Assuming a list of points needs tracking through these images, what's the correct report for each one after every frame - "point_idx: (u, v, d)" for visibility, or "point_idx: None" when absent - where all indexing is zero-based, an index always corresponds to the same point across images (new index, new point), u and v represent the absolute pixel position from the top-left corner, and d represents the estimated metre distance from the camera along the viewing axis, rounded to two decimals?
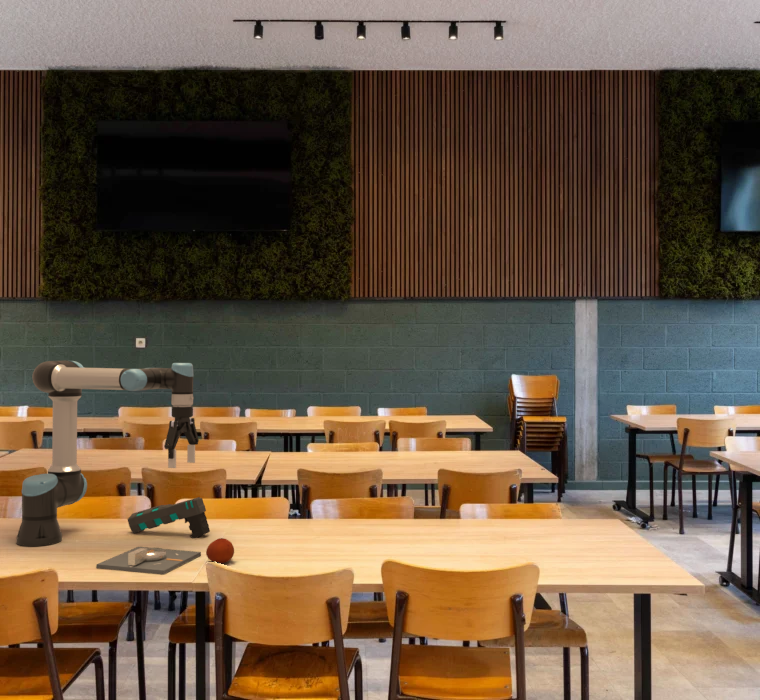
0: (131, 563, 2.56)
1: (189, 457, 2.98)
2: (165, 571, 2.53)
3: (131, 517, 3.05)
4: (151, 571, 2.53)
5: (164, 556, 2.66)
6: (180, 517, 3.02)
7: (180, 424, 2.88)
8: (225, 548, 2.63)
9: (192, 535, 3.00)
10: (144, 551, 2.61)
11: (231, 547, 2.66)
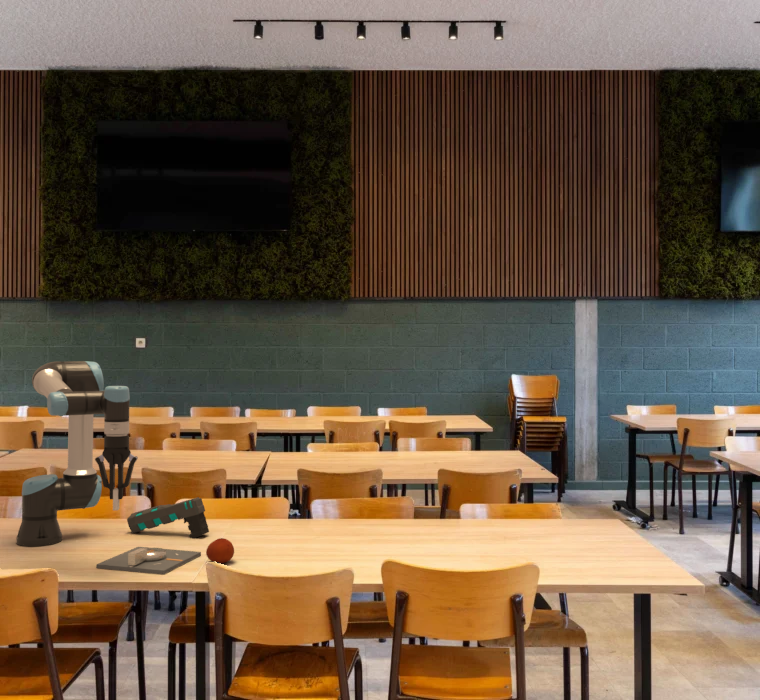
0: (131, 563, 2.56)
1: None
2: (165, 571, 2.53)
3: (130, 517, 3.05)
4: (151, 571, 2.53)
5: (164, 556, 2.66)
6: (179, 517, 3.02)
7: (105, 455, 2.56)
8: (225, 548, 2.63)
9: (191, 535, 3.00)
10: (144, 551, 2.61)
11: (231, 547, 2.66)
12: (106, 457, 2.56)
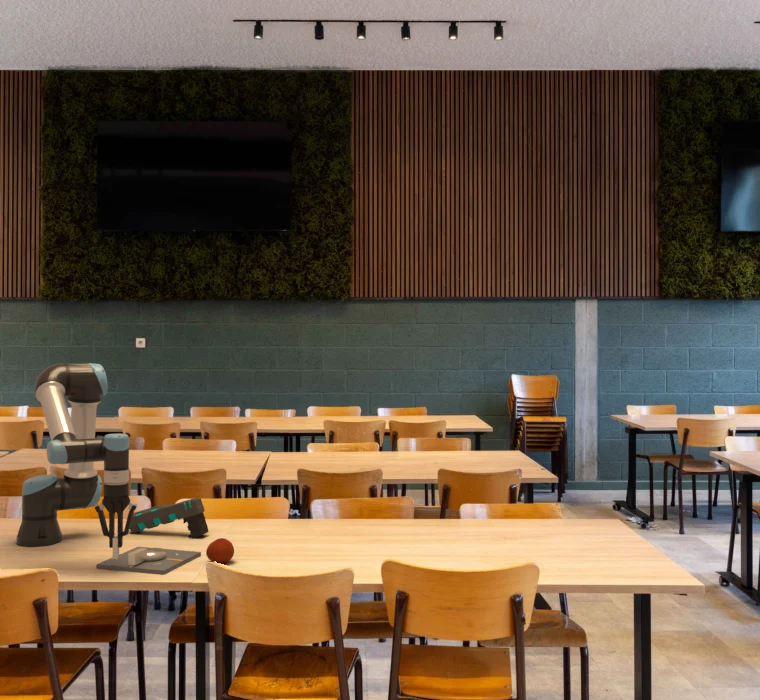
0: (131, 563, 2.56)
1: None
2: (165, 571, 2.53)
3: None
4: (151, 571, 2.53)
5: (164, 556, 2.66)
6: (179, 517, 3.01)
7: (105, 503, 2.56)
8: (225, 548, 2.63)
9: (190, 535, 3.00)
10: (144, 551, 2.61)
11: (231, 547, 2.66)
12: (106, 505, 2.56)
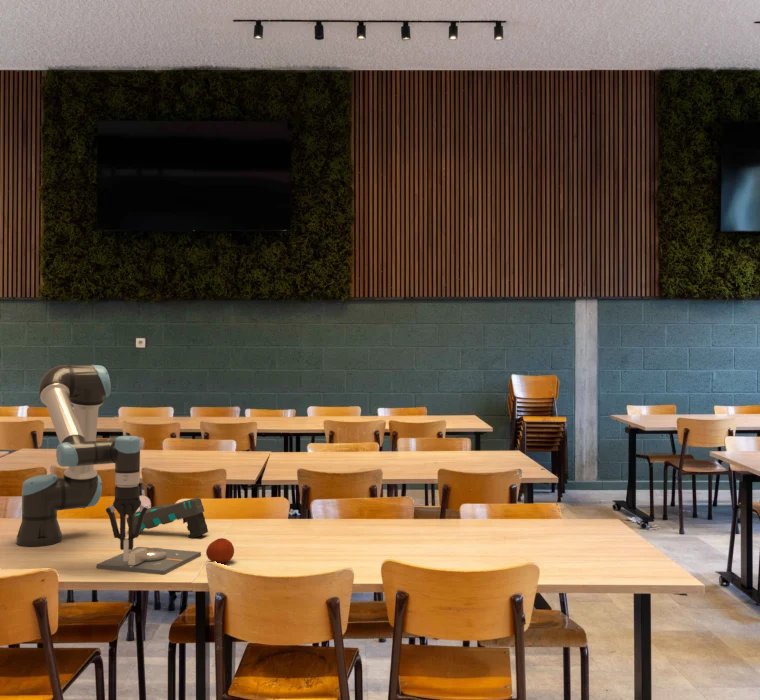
0: (131, 563, 2.56)
1: None
2: (165, 571, 2.53)
3: None
4: (151, 571, 2.53)
5: (164, 556, 2.66)
6: (178, 517, 3.01)
7: (116, 506, 2.56)
8: (225, 548, 2.63)
9: (190, 535, 3.00)
10: (144, 551, 2.61)
11: (231, 547, 2.66)
12: (117, 508, 2.56)
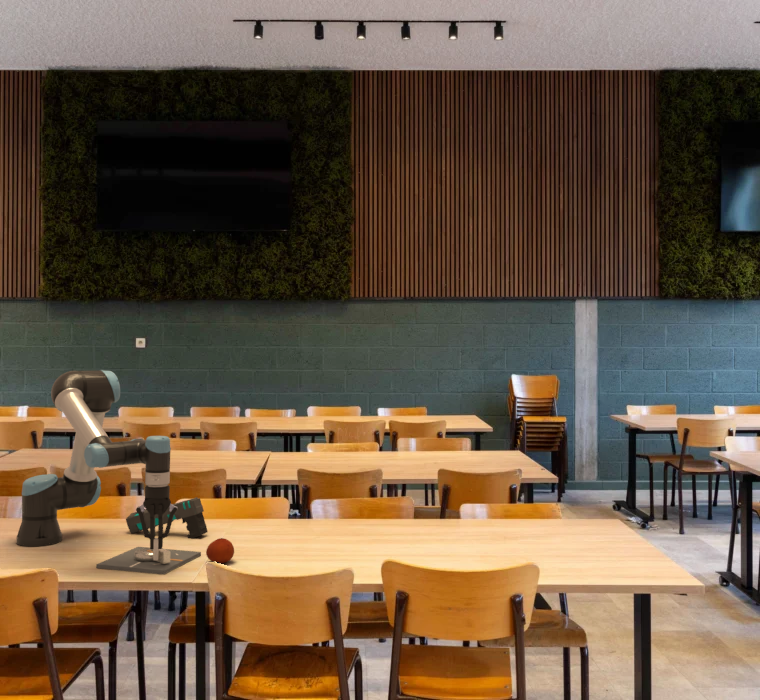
0: (166, 561, 2.59)
1: None
2: (165, 571, 2.53)
3: (129, 517, 3.05)
4: (151, 571, 2.53)
5: None
6: (178, 517, 3.01)
7: (146, 505, 2.57)
8: (225, 548, 2.63)
9: (189, 535, 3.00)
10: None
11: (231, 547, 2.66)
12: (147, 507, 2.57)
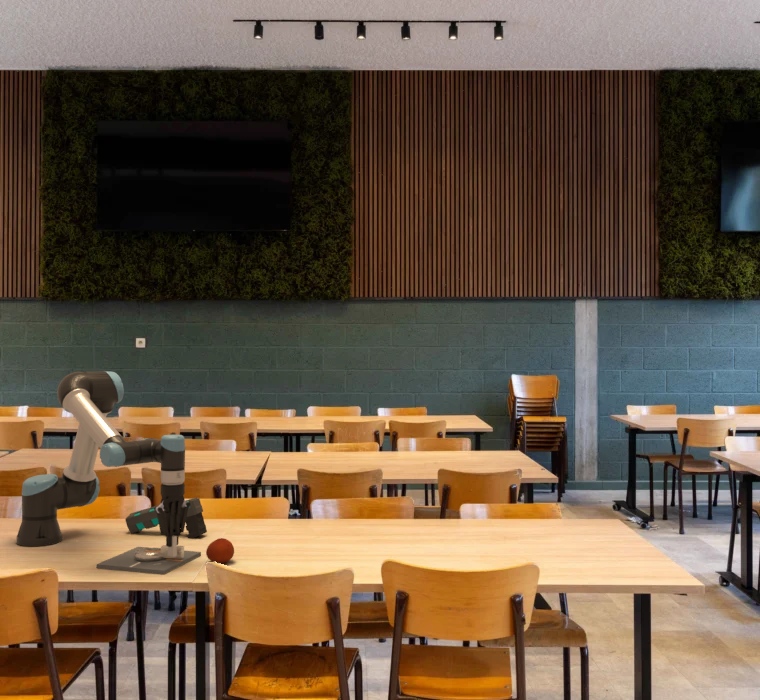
0: (182, 556, 2.65)
1: None
2: (165, 571, 2.53)
3: (129, 517, 3.05)
4: (151, 571, 2.53)
5: None
6: None
7: (166, 504, 2.60)
8: (225, 548, 2.63)
9: (189, 535, 2.99)
10: None
11: (231, 547, 2.66)
12: (167, 506, 2.60)
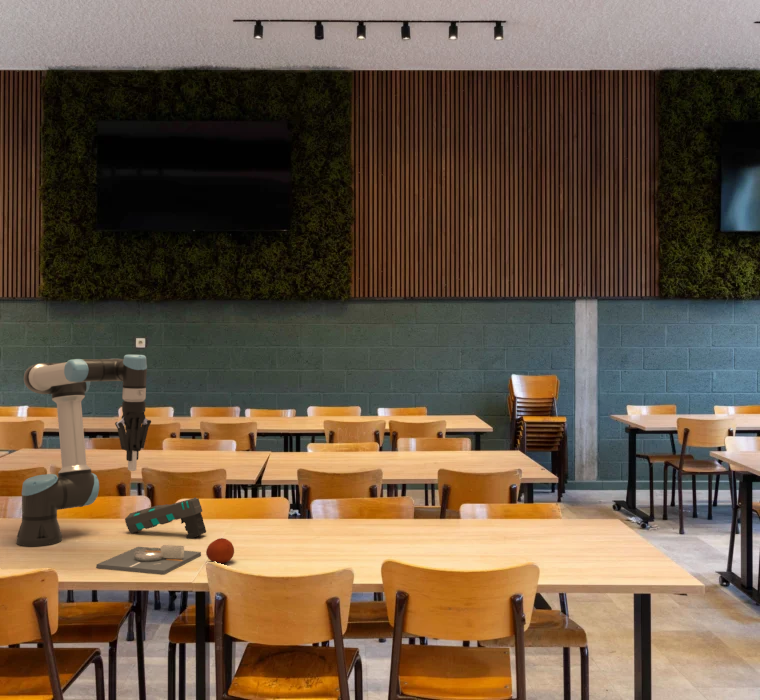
0: (182, 556, 2.65)
1: None
2: (165, 571, 2.53)
3: (128, 517, 3.05)
4: (151, 571, 2.53)
5: None
6: (176, 517, 3.01)
7: (127, 420, 2.71)
8: (225, 548, 2.64)
9: (188, 536, 2.99)
10: None
11: (231, 547, 2.66)
12: (128, 422, 2.72)
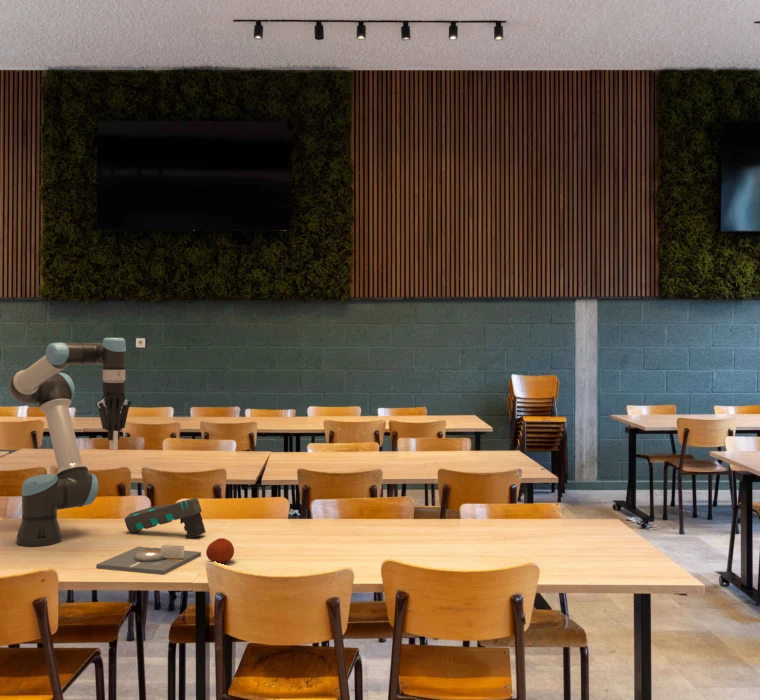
0: (182, 556, 2.65)
1: None
2: (165, 571, 2.53)
3: (128, 517, 3.06)
4: (151, 571, 2.53)
5: None
6: (175, 517, 3.01)
7: (107, 400, 2.81)
8: (225, 548, 2.63)
9: (187, 536, 2.99)
10: None
11: (231, 547, 2.66)
12: (108, 402, 2.81)
